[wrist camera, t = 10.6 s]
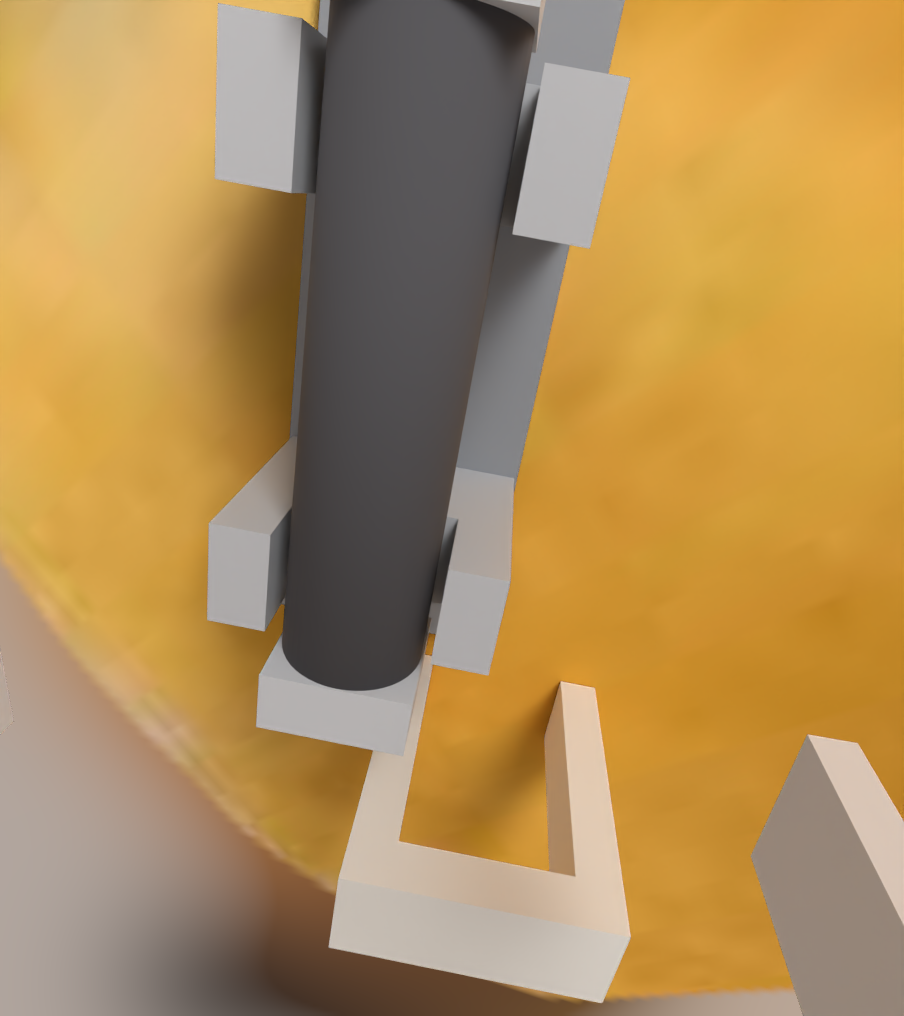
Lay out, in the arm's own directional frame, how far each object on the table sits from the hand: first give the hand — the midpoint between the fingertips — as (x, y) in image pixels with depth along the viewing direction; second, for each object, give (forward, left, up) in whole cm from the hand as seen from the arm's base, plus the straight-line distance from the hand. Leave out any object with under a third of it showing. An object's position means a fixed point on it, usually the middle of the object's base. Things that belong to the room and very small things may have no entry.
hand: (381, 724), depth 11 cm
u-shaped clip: (+11, +3, -14) cm, 18 cm away
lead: (-3, -2, -10) cm, 10 cm away
